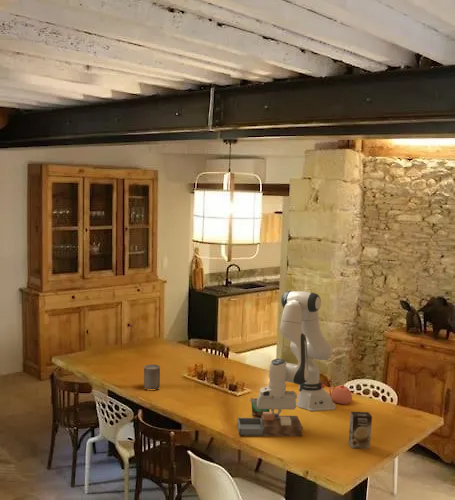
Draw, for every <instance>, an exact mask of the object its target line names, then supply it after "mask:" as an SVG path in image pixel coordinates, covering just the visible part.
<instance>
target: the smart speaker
mask: <svg viewBox="0 0 455 500" xmlns="http://www.w3.org/2000/svg"><path fill="white" fill-rule="evenodd" d="M160 379H161V367H160V365H158V364H147V365H144V366H143V388H144V387H145V388H146V389H158V388H159V387H161V386H160V383H161V382H160V381H161V380H160ZM158 390H159V389H158Z"/></svg>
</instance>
